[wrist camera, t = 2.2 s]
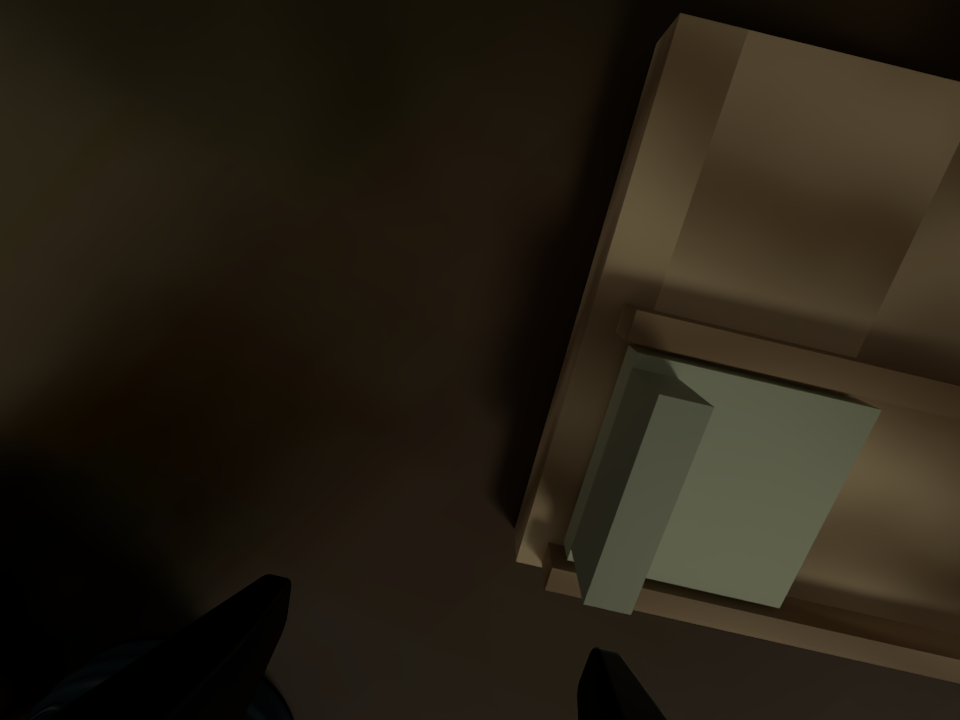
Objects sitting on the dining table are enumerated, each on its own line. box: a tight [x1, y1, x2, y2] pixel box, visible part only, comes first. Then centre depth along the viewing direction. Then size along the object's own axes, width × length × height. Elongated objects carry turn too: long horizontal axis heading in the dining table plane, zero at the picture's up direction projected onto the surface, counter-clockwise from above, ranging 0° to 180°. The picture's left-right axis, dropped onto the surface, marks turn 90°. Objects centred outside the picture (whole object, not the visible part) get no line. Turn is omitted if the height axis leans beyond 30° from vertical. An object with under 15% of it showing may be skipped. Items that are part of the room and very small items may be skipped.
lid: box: [564, 345, 881, 615], centre depth 14 cm, size 8×8×4 cm
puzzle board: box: [514, 13, 960, 683], centre depth 16 cm, size 19×21×3 cm
